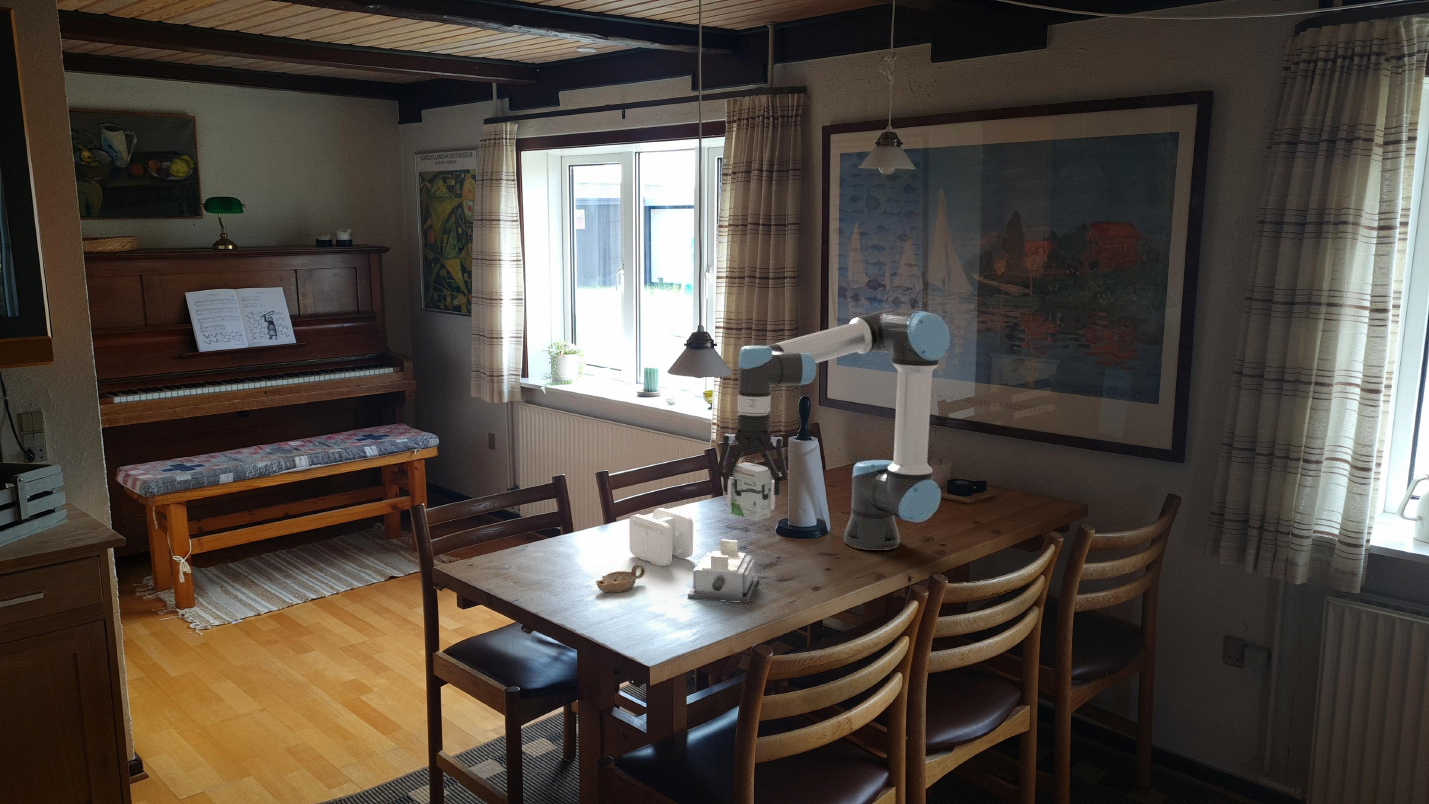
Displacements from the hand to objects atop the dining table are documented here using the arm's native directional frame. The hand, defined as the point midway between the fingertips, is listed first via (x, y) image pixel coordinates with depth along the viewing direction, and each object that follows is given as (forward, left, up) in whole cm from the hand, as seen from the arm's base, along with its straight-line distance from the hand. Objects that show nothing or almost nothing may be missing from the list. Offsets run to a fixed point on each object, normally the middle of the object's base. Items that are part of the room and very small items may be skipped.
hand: (751, 506), depth 231 cm
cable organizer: (+26, -17, -20) cm, 37 cm away
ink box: (0, 0, -2) cm, 2 cm away
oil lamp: (+30, +6, -21) cm, 37 cm away
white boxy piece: (+6, +1, -20) cm, 21 cm away
